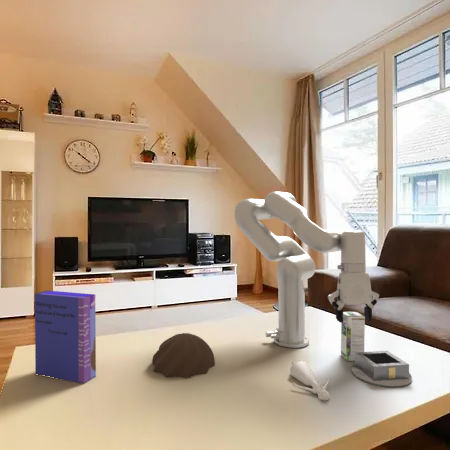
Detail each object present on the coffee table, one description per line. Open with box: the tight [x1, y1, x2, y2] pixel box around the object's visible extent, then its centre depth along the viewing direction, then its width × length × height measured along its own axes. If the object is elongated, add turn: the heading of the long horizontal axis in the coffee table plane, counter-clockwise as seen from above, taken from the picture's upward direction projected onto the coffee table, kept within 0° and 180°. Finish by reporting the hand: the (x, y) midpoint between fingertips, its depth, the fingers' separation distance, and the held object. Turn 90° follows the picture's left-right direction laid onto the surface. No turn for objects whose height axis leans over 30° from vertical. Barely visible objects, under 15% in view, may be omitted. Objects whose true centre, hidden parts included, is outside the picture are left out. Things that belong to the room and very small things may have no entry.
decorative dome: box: [151, 332, 216, 379], centre depth 111 cm, size 19×20×10 cm
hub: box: [351, 350, 413, 388], centre depth 104 cm, size 16×16×5 cm
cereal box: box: [34, 290, 97, 385], centre depth 103 cm, size 17×5×24 cm, turn 71°
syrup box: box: [340, 311, 366, 362], centre depth 117 cm, size 6×6×14 cm
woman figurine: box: [289, 360, 331, 402], centre depth 97 cm, size 12×4×18 cm
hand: (354, 320), depth 116 cm, fingers open, 9 cm apart
